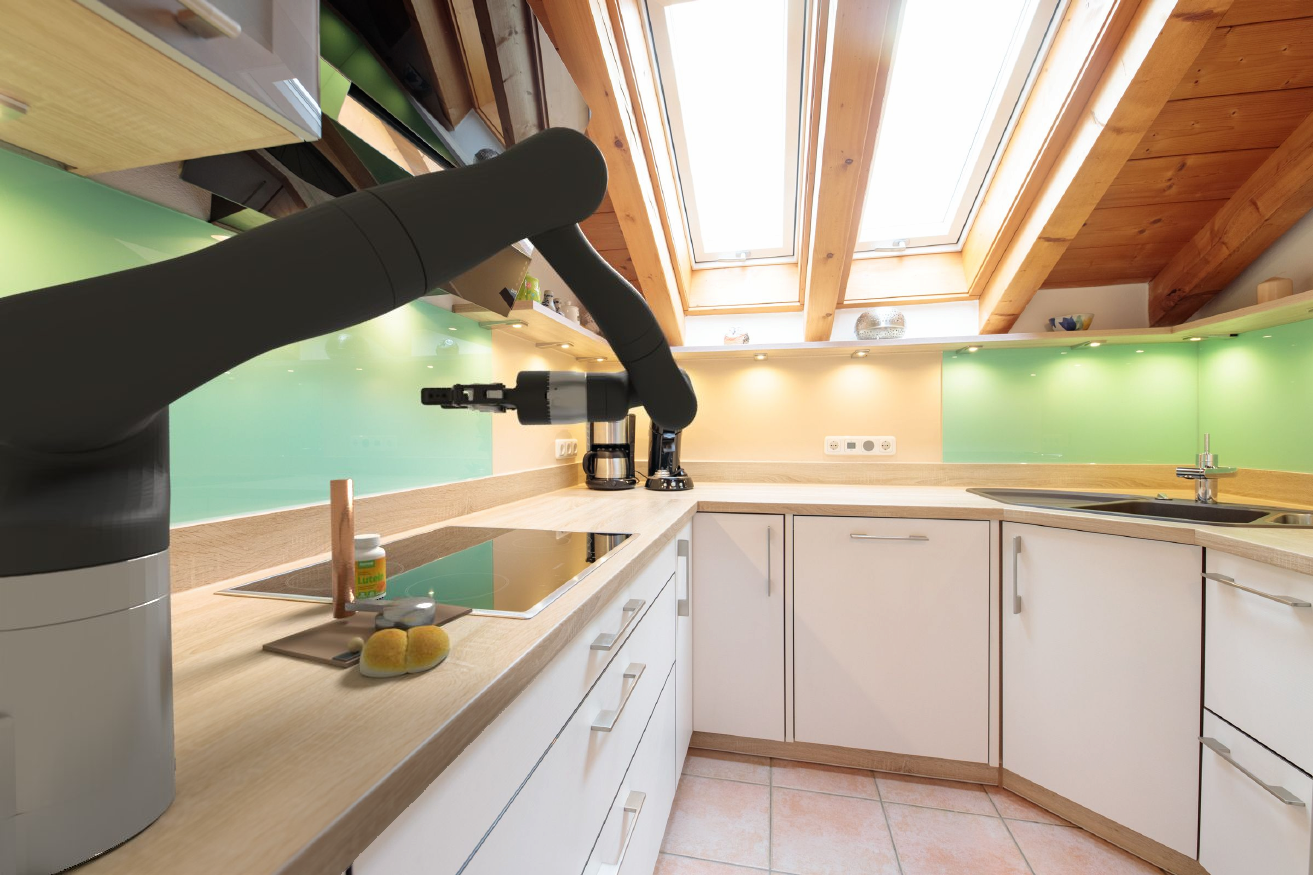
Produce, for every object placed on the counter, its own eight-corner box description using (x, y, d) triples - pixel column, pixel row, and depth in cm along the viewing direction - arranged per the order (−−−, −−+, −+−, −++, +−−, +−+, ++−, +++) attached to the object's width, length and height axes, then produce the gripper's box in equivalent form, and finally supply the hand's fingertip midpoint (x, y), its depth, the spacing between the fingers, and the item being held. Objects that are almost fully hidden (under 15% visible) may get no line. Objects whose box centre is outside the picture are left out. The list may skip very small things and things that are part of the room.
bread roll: (452, 669, 56) (451, 631, 56) (356, 687, 52) (355, 647, 52) (448, 641, 63) (447, 609, 63) (364, 656, 60) (363, 621, 59)
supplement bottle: (356, 606, 77) (354, 540, 77) (340, 599, 80) (339, 537, 80) (392, 596, 81) (391, 534, 81) (376, 591, 85) (375, 531, 85)
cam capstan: (445, 615, 69) (442, 477, 69) (413, 633, 63) (409, 481, 63) (355, 609, 72) (352, 477, 72) (315, 626, 66) (312, 482, 66)
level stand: (347, 667, 56) (346, 646, 56) (262, 649, 61) (261, 630, 61) (472, 611, 73) (472, 595, 73) (397, 601, 79) (397, 586, 79)
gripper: (556, 376, 79) (445, 377, 77) (549, 363, 65) (413, 363, 63) (557, 425, 79) (446, 427, 77) (550, 423, 65) (414, 425, 63)
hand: (431, 399), depth 70 cm, fingers open, 8 cm apart
